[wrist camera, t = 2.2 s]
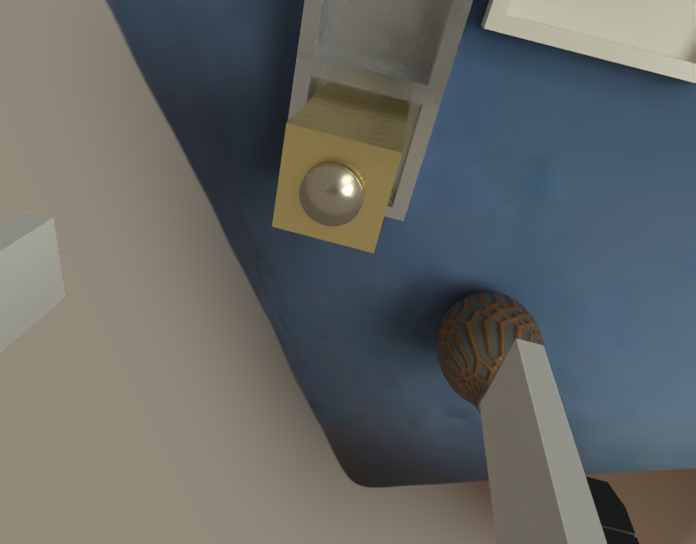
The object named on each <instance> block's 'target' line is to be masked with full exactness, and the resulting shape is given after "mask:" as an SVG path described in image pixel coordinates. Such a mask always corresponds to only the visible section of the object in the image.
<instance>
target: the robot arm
mask: <svg viewBox="0 0 696 544" xmlns="http://www.w3.org/2000/svg"><path fill="white" fill-rule="evenodd" d="M65 296H66V295H65V288H64V283H63V275H62V269H61V263H60V256H59V250H58V243H57V237H56V231H55V224H54V218H53V217H49V216H45V215H41V214H37V213H34V212H30V211H25V212H24V213H22V214H20V215H18V216H16V217H15V218H13V219H11V220H9V221H8V222H6V223H4V224H2V225H1V226H0V353H1V352H2V351H3V350H4V349H6V348H7V347H8V346H9V345H10V344H11V343H12V342H14V341H15V340H16V339H17V338H18V337H19V336H21V335H22V334H23V333H24V332H25V331H26V330H27V329H29V328H30V327H31V326H32V325H33V324H34V323H36V322H37V321H38V320H39V319H40V318H41V317H42V316H43V315H45V314H46V313H47V312H48V311H49V310H51V309H52V308H53V307H54V306H55V305H56V304H57V303H59V302H60V301H61V300H62V299H63V298H64V297H65ZM480 411H481V419H482V427H483V435H484V443H485V451H486V459H487V467H488V475H489V483H490V491H491V499H492V507H493V515H494V523H495V530H496V539H497V544H639V542H638V540H637V538H635V537H634V533H635V532H634V529H633V527H632V524H631V521H630V519H629V516H628V513H627V511H626V508H625V506H624V505H623V503H622V502H621V500H620V499H619V498H618V496H617V495H616V494H615V492H614V491H613V490H612V488H611V486H610V485H609V484H608V482H605V481H601V480H597V479H593V478H590V477H586V476H585V473H584V470H583V467H582V464H581V461H580V458H579V454H578V451H577V448H576V445H575V442H574V439H573V436H572V433H571V430H570V426H569V423H568V420H567V417H566V414H565V411H564V408H563V405H562V402H561V398H560V395H559V392H558V389H557V386H556V383H555V380H554V377H553V374H552V370H551V367H550V364H549V361H548V358H547V355H546V352H545V349H544V346H543V345H540V344H536V343H532V342H528V341H525V340H521V339H517V338H516V340H515V341H514V343H513V345H512V347H511V349H510V351H509V352H508V354H507V356H506V358H505V360H504V361H503V363H502V365H501V367H500V369H499V371H498V372H497V374H496V376H495V378H494V380H493V382H492V383H491V385H490V387H489V389H488V391H487V392H486V394H485V396H484V398H483V400H482V402H481V403H480Z"/></svg>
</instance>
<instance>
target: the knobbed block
mask: <svg viewBox="0 0 696 544" xmlns="http://www.w3.org/2000/svg"><path fill="white" fill-rule="evenodd" d="M409 108H410V105H408V104H404V103H400V102H396V101H393V100H389V99H385V98H381V97H377V96H373V95H369V94H366V93H362V92H358V91H354V90H350V89H346V88H343V87H339V86H335V85H331V84H327V83H326V84H325V85H324V86H323V87H322V88H321V89H320V90H319V91H318V92H317V93H316V94H315V95H314V96H313V97H312V98H311V99H310V100H309V101H308V102H307V103H306V104H305V105H304V106H303V107H302V108H301V109H300V110H299V111H298V112H297V113H296V114H295V115H294V116H293V117H292V118H291V119H290V120H289V121H288V122H287V123H286V130H285V137H284V144H283V151H282V158H281V166H280V173H279V180H278V187H277V195H276V202H275V209H274V216H273V223H272V227H276V228H280V229H283V230H287V231H291V232H295V233H299V234H302V235H306V236H310V237H314V238H318V239H321V240H325V241H329V242H333V243H337V244H340V245H344V246H348V247H352V248H355V249H359V250H363V251H367V252H371V253H374V250H375V247H376V243H377V240H378V237H379V233H380V230H381V226H382V223H383V219H384V216H385V212H386V209H387V205H388V202H389V198H390V195H391V191H392V188H393V184H394V181H395V177H396V174H397V170H398V167H399V163H400V160H401V156H402V153H403V146H404V140H405V133H406V127H407V120H408V114H409Z"/></svg>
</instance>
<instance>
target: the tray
mask: <svg viewBox="0 0 696 544" xmlns="http://www.w3.org/2000/svg"><path fill="white" fill-rule="evenodd" d="M481 27H483V28H484V29H488V30H491V31H495V32H499V33H503V34H507V35H511V36H515V37H519V38H522V39H526V40H530V41H534V42H538V43H542V44H546V45H550V46H553V47H557V48H561V49H565V50H569V51H573V52H577V53H581V54H584V55H588V56H592V57H596V58H600V59H604V60H608V61H612V62H615V63H619V64H623V65H627V66H631V67H635V68H639V69H643V70H646V71H650V72H654V73H658V74H662V75H666V76H670V77H674V78H677V79H681V80H685V81H689V82H693V83H696V0H489V2H488V5H487V8H486V11H485V14H484V17H483V20H482V23H481Z"/></svg>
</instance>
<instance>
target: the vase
mask: <svg viewBox="0 0 696 544" xmlns="http://www.w3.org/2000/svg"><path fill="white" fill-rule="evenodd" d="M516 338H517V339H521V340H525V341H528V342H532V343H536V344H540V345H543V346H544V344H543V340H542V336H541V333H540V331H539V328H538V326H537V324H536V322H535V320H534V319H533V317H532V316H531V315H530V313H529V312H528V311H527V310H526V309H525V308H524V307H523V306H522V305H521V304H520V303H518V302H517V301H515V300H514V299H512V298H510V297H508V296H506V295H503V294H499V293H493V292H481V293H475V294H472V295H469V296H466V297H464V298H462V299H460V300H459V301H457V302H456V303H455V304H454V305H453V306H452V307H451V308H450V309H449V310H448V311H447V313H446V314H445V316H444V318H443V320H442V322H441V324H440V327H439V331H438V337H437V356H438V360H439V364H440V367H441V370H442V372H443V374H444V376H445V378H446V380H447V382H448V383H449V385H450V386H451V387H452V388H453V390H454V391H455V392H456V393H457V394H459V395H460V396H461V397H462V398H464V399H465V400H467V401H468V402H470V403H471V404H473V405H474V406H475V407H476V408H477V410H478V411H479V412H480V413H481V411H480V403H481V402H482V400H483V398H484V396H485V394H486V392H487V391H488V389H489V387H490V385H491V383H492V382H493V380H494V378H495V376H496V374H497V372H498V371H499V369H500V367H501V365H502V363H503V361H504V360H505V358H506V356H507V354H508V352H509V351H510V349H511V347H512V345H513V343H514V341H515V340H516Z"/></svg>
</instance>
